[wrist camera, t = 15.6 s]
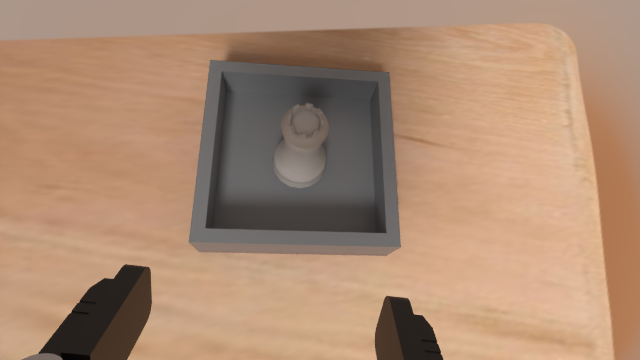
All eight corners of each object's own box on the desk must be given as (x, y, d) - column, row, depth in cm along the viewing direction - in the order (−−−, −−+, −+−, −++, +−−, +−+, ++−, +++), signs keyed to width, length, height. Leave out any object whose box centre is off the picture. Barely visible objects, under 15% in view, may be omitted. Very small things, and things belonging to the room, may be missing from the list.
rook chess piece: (314, 198, 32) (326, 161, 25) (263, 178, 32) (260, 135, 25) (332, 152, 34) (349, 104, 26) (284, 133, 34) (287, 80, 26)
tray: (199, 251, 31) (188, 242, 27) (216, 87, 36) (210, 60, 32) (386, 255, 32) (400, 247, 29) (377, 97, 37) (389, 72, 34)
